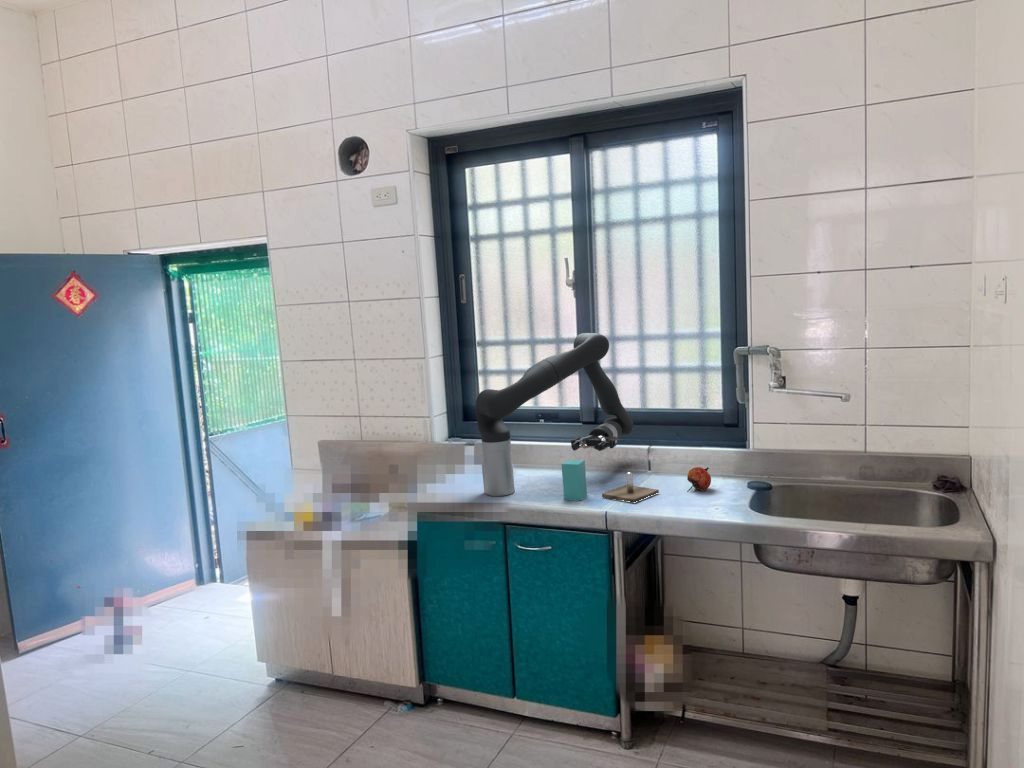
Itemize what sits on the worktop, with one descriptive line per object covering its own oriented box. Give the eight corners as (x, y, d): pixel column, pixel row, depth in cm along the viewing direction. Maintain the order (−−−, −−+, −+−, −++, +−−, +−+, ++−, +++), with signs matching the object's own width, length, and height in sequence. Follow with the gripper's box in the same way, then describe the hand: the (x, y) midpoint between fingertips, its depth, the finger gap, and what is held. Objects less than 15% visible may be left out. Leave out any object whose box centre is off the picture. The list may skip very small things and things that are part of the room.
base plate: (602, 497, 218) (601, 493, 218) (626, 488, 226) (626, 484, 226) (634, 503, 209) (634, 499, 209) (658, 493, 217) (658, 489, 217)
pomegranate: (699, 502, 213) (722, 478, 214) (683, 484, 213) (706, 460, 214) (689, 498, 221) (712, 475, 222) (673, 480, 220) (696, 458, 221)
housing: (564, 499, 219) (561, 463, 218) (570, 494, 224) (568, 459, 223) (580, 500, 217) (578, 464, 215) (587, 495, 221) (584, 460, 220)
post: (625, 492, 218) (624, 472, 217) (629, 490, 219) (628, 471, 218) (630, 493, 216) (629, 473, 215) (634, 491, 217) (633, 471, 217)
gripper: (582, 425, 246) (564, 435, 232) (622, 425, 239) (606, 436, 225) (584, 447, 247) (566, 458, 232) (624, 447, 240) (608, 459, 226)
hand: (586, 447), depth 229 cm, fingers open, 8 cm apart
